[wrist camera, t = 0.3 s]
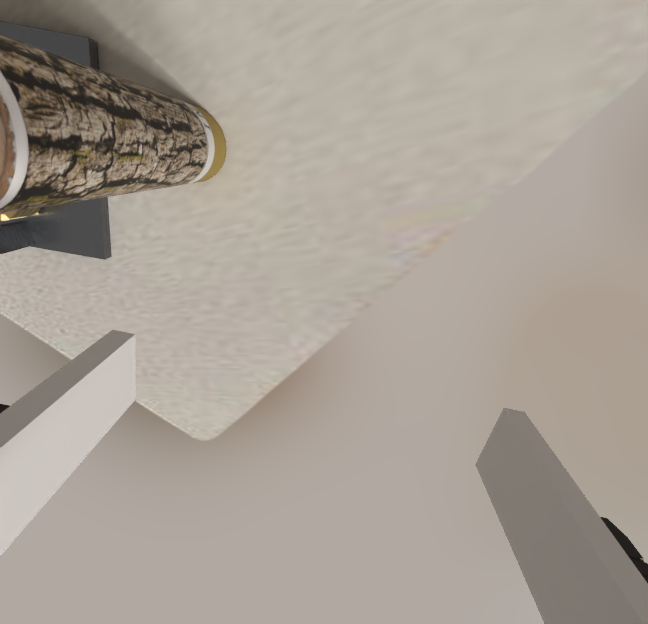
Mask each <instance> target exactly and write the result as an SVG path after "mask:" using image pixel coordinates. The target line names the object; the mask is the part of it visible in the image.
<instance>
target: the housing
mask: <svg viewBox="0 0 648 624" xmlns="http://www.w3.org/2000/svg"><path fill="white" fill-rule="evenodd" d="M0 34H2V35H4V36H7V37H10V38H12V39H15V40H18V41H21V42H23V43H26V44H29V45H32V46H34V47H37V48H40V49H42V50H45V51H48V52H51V53H53V54H56V55H59V56H62V57H64V58H67V59H70V60H72V61H75V62H78V63H81V64H83V65H86V66H89V67H91V68H94V69H97V70H99V65H98V50H97V42H95V41H93V40H91V39H89V38H85V37H80V36H74V35H69V34H64V33H59V32H53V31H48V30H43V29H38V28H32V27H27V26H22V25H17V24H11V23H6V22H1V21H0ZM28 246H31V247H37V248H43V249H48V250H54V251H60V252H65V253H71V254H77V255H82V256H88V257H94V258H99V259H107V258H110V257H111V243H110V228H109V213H108V199H107V197H102V198H96V199H90V200H83V201H77V202H71V203H64V204H58V205H52V206H45V207H42V208H41V209H40V210H39V211H38V212H37V213H36V214H34V215H30V216H27V217H22V218H16V219H11V220H5V221H0V254H3V253H7V252H10V251H14V250H17V249H21V248H25V247H28Z"/></svg>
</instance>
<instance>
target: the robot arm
mask: <svg viewBox="0 0 648 624" xmlns="http://www.w3.org/2000/svg"><path fill="white" fill-rule="evenodd" d="M135 399H136V372H135V334H131V333H126V332H121V331H116V330H112V331H111V332H109V333H108V334H106V335H105V336H104V337H102V338H101V339H100V340H98V341H97V342H96V343H94V344H93V345H92V346H90V347H89V348H88V349H86V350H85V351H84V352H82V353H81V354H80V355H78V356H77V357H76V358H74V359H73V360H72V361H70V362H69V363H68V364H66V365H65V366H63V367H62V368H61V369H59V370H58V371H57V372H55V373H54V374H53V375H52V376H50V377H49V378H48V379H46V380H45V381H43V382H42V383H41V384H39V385H38V386H37V387H35V388H34V389H33V390H31V391H30V392H29V393H27V394H26V395H25V396H23V397H22V398H21V399H19V400H18V401H16V402H15V403H14V404H12V405H11V406H8V405H3V404H0V556H1V555H2V553H3V552H4V551H5V550H6V549H7V548H8V547H9V545H10V544H11V543H12V542H13V541H14V540H15V539H16V537H17V536H18V535H19V534H20V533H21V532H22V530H23V529H24V528H25V527H26V526H27V524H28V523H29V522H30V521H31V520H32V519H33V518H34V516H35V515H36V514H37V513H38V512H39V511H40V509H41V508H42V507H43V506H44V505H45V504H46V502H47V501H48V500H49V499H50V498H51V497H52V496H53V494H54V493H55V492H56V491H57V490H58V489H59V487H60V486H61V485H62V484H63V483H64V482H65V480H66V479H67V478H68V477H69V476H70V475H71V474H72V472H73V471H74V470H75V469H76V468H77V467H78V465H79V464H80V463H81V462H82V461H83V460H84V458H85V457H86V456H87V455H88V454H89V453H90V451H91V450H92V449H93V448H94V447H95V446H96V444H97V443H98V442H99V441H100V440H101V439H102V437H103V436H104V435H105V434H106V433H107V432H108V431H109V429H110V428H111V427H112V426H113V425H114V424H115V422H116V421H117V420H118V419H119V418H120V417H121V415H122V414H123V413H124V412H125V411H126V410H127V409H128V407H129V406H130V405H131V404H132V403H133V402H134V400H135ZM476 467H477V469H478V471H479V474H480V476H481V478H482V481H483V483H484V485H485V488H486V490H487V492H488V494H489V497H490V499H491V501H492V504H493V506H494V508H495V510H496V513H497V515H498V517H499V520H500V522H501V524H502V527H503V529H504V531H505V533H506V536H507V538H508V540H509V543H510V545H511V547H512V550H513V552H514V554H515V557H516V559H517V561H518V564H519V566H520V568H521V570H522V572H523V575H524V577H525V580H526V582H527V584H528V586H529V589H530V591H531V593H532V596H533V598H534V600H535V602H536V605H537V607H538V610H539V612H540V614H541V616H542V619H543V621H544V623H545V624H648V564H647V563H644V561H643V557H642V556H641V555H640V553H639V552H638V551H637V549H636V548H635V547H634V545H633V544H632V543H631V541H630V540H629V539H628V537H626V536H625V535H624V534H623V533H622V532H621V531H620V530H619V529H618V528H617V527H616V526H615V525H614V524H613V523H612V522H610V521H609V520H608V519H607V518H603V517H599V515H598V514H597V512H596V511H595V510H594V508H593V507H592V505H591V504H590V503H589V501H588V500H587V498H586V497H585V495H584V494H583V493H582V491H581V490H580V489H579V487H578V486H577V484H576V483H575V482H574V480H573V479H572V477H571V476H570V475H569V473H568V472H567V470H566V469H565V468H564V467H563V465H562V463H561V462H560V461H559V459H558V458H557V456H556V455H555V454H554V452H553V451H552V450H551V448H550V447H549V445H548V444H547V443H546V441H545V440H544V438H543V437H542V436H541V434H540V433H539V431H538V430H537V429H536V427H535V426H534V425H533V423H532V422H531V420H530V419H529V418H528V416H527V415H526V413H525V412H522V411H517V410H512V409H507V408H504V409H503V411H502V413H501V415H500V417H499V419H498V421H497V423H496V425H495V427H494V429H493V431H492V433H491V435H490V437H489V439H488V441H487V443H486V445H485V447H484V449H483V451H482V453H481V455H480V457H479V459H478V461H477V463H476Z"/></svg>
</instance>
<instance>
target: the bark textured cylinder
mask: <svg viewBox="0 0 648 624" xmlns="http://www.w3.org/2000/svg"><path fill="white" fill-rule="evenodd" d="M225 157H226V141H225V137H224V134H223V131H222V129H221V127H220V125H219V124H218V122H217V121H216V120H215V119H214V118H213V117H212V116H211V115H210V114H209V113H208V112H206V111H205V110H203V109H202V108H199V107H197V106H194V105H191V104H189V103H186V102H184V101H181V100H179V99H176V98H173V97H170V96H168V95H165V94H162V93H160V92H157V91H154V90H151V89H149V88H146V87H143V86H141V85H138V84H135V83H132V82H130V81H127V80H124V79H121V78H119V77H116V76H113V75H111V74H108V73H105V72H102V71H100V70H97V69H94V68H91V67H89V66H86V65H83V64H81V63H78V62H75V61H72V60H70V59H67V58H64V57H62V56H59V55H56V54H53V53H51V52H48V51H45V50H42V49H40V48H37V47H34V46H32V45H29V44H26V43H23V42H21V41H18V40H15V39H12V38H10V37H7V36H4V35H2V34H0V214H1V213H7V212H13V211H20V210H26V209H32V208H39V207H45V206H52V205H58V204H64V203H71V202H77V201H83V200H90V199H96V198H102V197H109V196H115V195H121V194H128V193H134V192H140V191H147V190H153V189H159V188H166V187H172V186H178V185H185V184H190V183H196V182H202V181H206V180H208V179H210V178H212V177H213V176H215V175H216V174H217V173H218V172H219V170H220V169H221V167H222V165H223V163H224V161H225Z"/></svg>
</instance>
